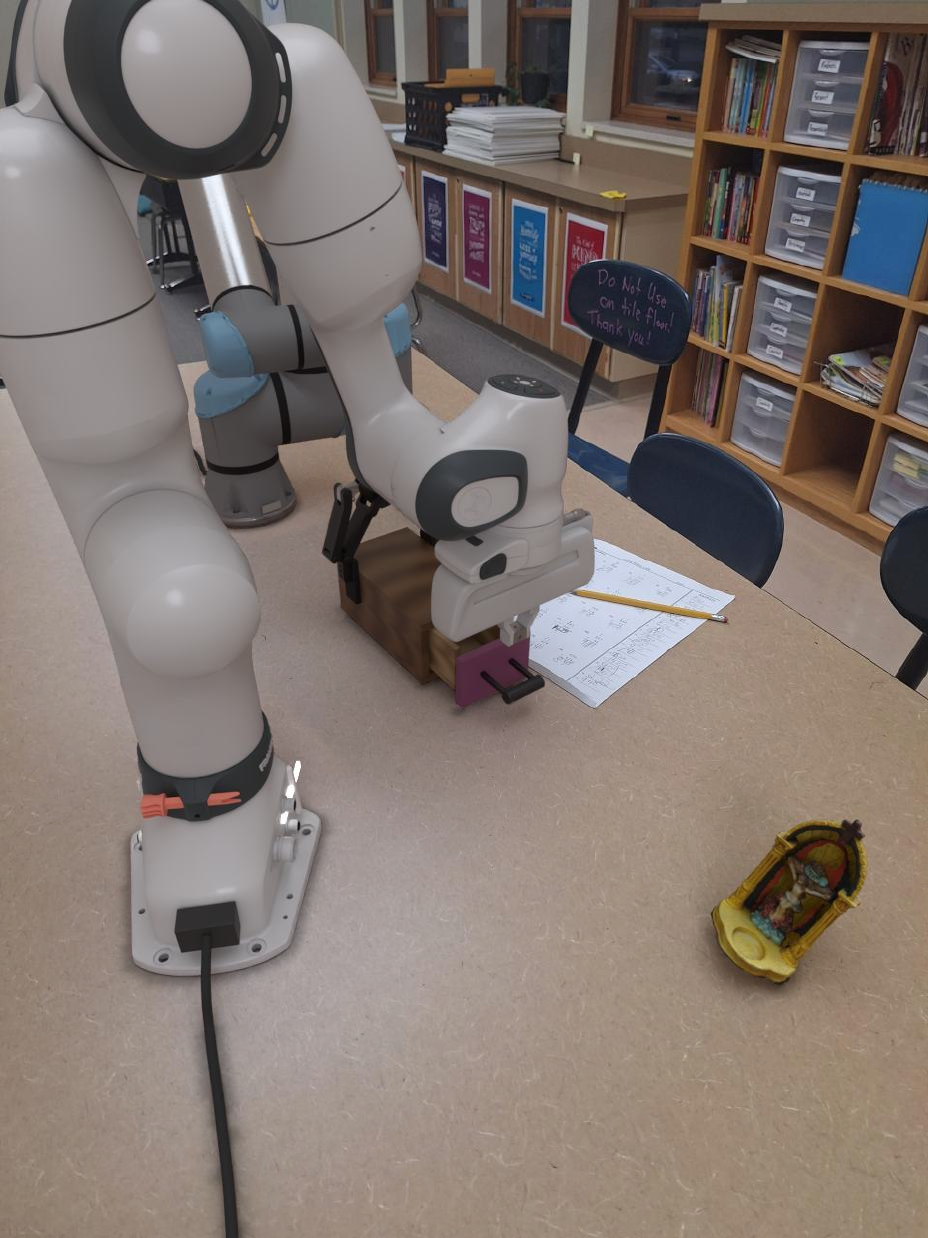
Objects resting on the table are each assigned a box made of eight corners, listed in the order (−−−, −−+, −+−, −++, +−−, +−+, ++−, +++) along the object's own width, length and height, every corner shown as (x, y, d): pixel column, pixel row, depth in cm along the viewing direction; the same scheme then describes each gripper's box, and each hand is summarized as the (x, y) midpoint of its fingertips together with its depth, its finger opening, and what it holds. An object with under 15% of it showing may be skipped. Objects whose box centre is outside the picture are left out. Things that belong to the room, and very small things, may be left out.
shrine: (791, 892, 81) (830, 781, 73) (851, 966, 75) (901, 853, 66) (686, 929, 78) (714, 817, 69) (739, 1009, 72) (776, 896, 63)
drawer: (558, 702, 103) (563, 656, 99) (491, 737, 98) (493, 690, 94) (439, 604, 119) (439, 561, 115) (377, 630, 114) (374, 586, 110)
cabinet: (494, 651, 112) (497, 594, 107) (422, 684, 107) (420, 625, 101) (409, 581, 125) (407, 526, 120) (340, 607, 120) (335, 551, 115)
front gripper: (573, 492, 96) (565, 596, 104) (420, 549, 86) (424, 658, 94) (613, 514, 91) (601, 620, 99) (457, 577, 82) (458, 688, 90)
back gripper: (445, 402, 113) (447, 546, 125) (280, 448, 101) (301, 601, 114) (479, 421, 108) (478, 568, 120) (311, 470, 96) (329, 627, 109)
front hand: (514, 639), depth 97 cm, fingers closed
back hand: (392, 584), depth 117 cm, fingers closed on cabinet, 11 cm apart
